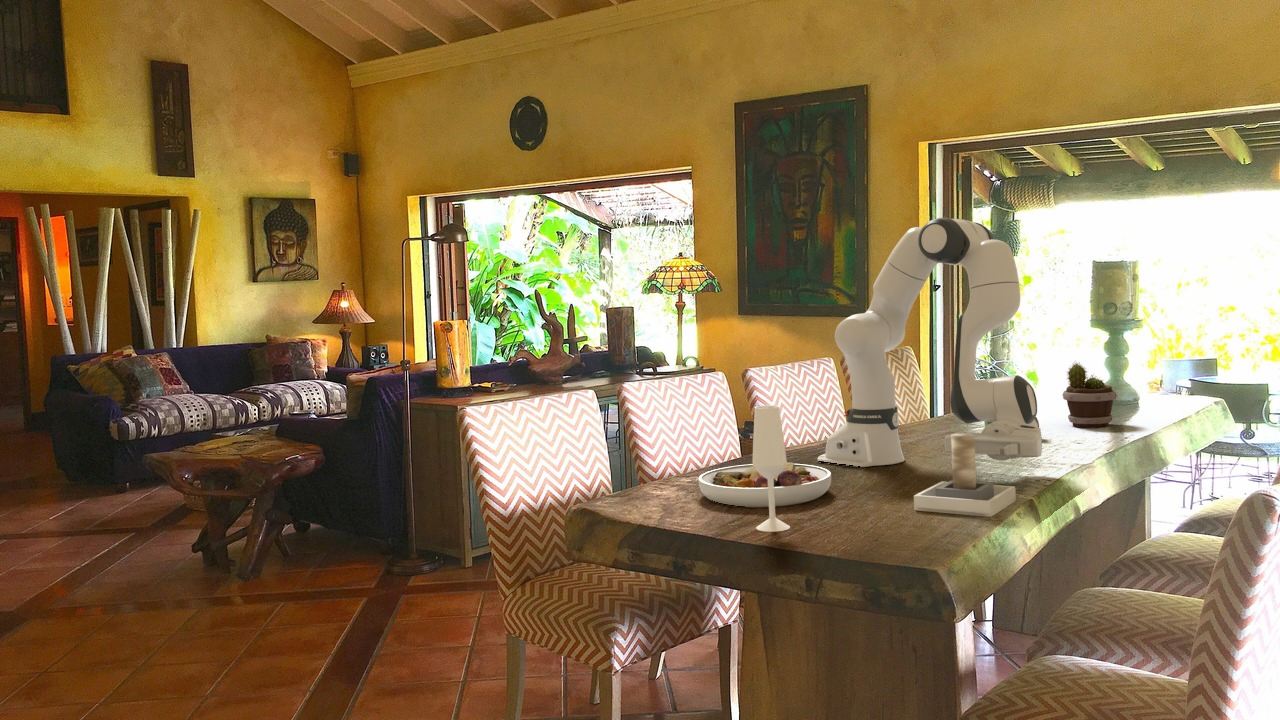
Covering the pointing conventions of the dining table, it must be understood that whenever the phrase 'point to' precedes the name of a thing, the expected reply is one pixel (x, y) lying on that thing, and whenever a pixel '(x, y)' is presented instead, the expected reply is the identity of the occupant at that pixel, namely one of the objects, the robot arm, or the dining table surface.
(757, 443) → the champagne flute
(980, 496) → the tray
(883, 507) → the dining table surface
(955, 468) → the peg
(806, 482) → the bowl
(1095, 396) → the flowerpot
